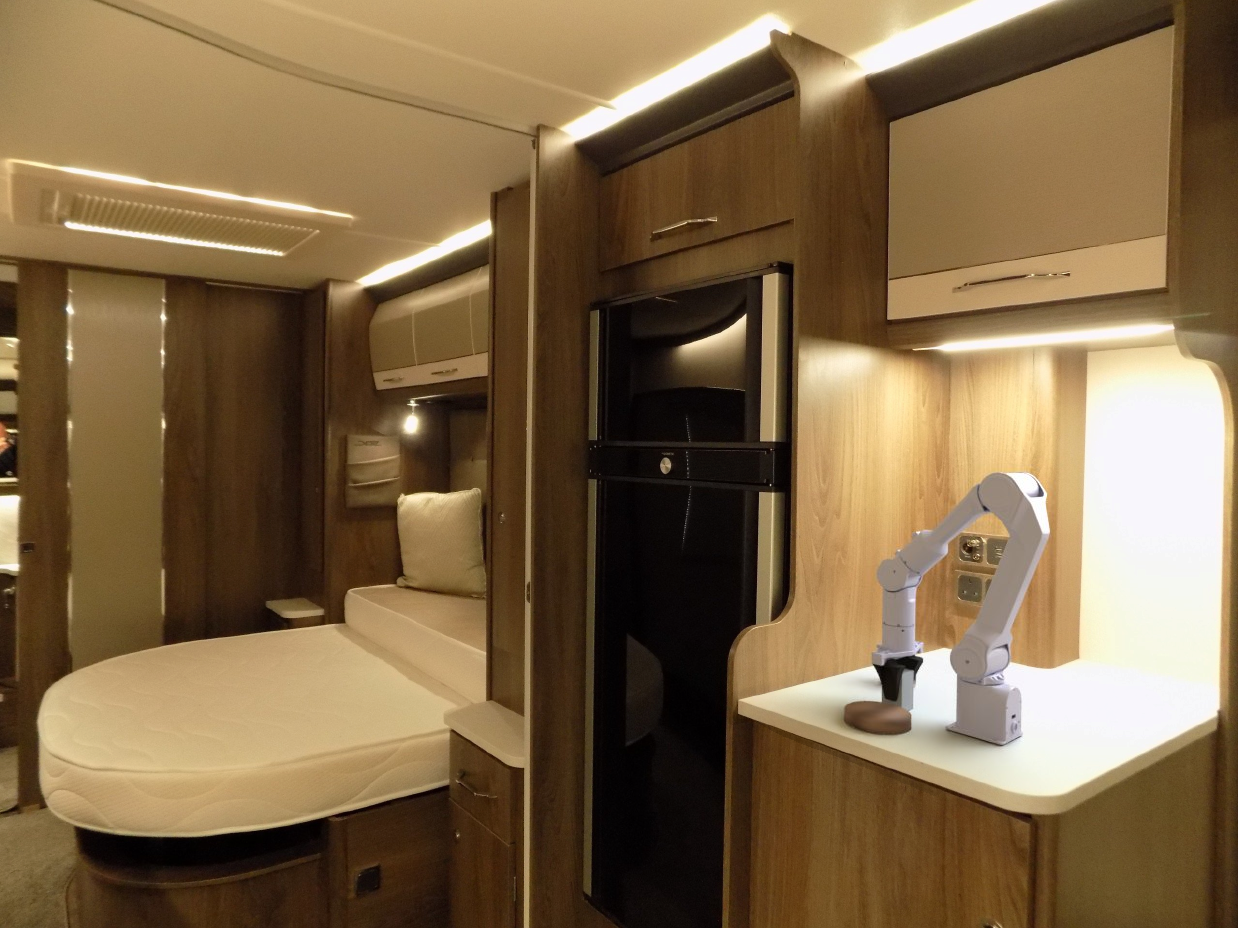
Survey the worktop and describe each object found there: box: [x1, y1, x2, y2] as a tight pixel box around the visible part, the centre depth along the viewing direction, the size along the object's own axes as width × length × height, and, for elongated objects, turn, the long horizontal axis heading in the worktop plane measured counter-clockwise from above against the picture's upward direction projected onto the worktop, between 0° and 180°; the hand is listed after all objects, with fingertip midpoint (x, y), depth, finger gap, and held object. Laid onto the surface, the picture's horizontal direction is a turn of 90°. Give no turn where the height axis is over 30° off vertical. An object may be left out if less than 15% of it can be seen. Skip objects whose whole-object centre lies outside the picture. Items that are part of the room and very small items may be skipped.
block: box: [881, 669, 914, 711], centre depth 139 cm, size 4×4×7 cm
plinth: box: [843, 700, 913, 736], centre depth 131 cm, size 11×11×2 cm
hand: (897, 697), depth 139 cm, fingers closed on block, 4 cm apart
